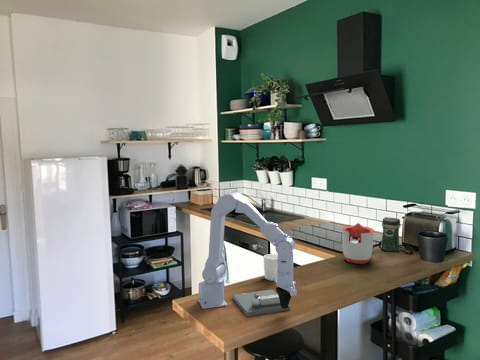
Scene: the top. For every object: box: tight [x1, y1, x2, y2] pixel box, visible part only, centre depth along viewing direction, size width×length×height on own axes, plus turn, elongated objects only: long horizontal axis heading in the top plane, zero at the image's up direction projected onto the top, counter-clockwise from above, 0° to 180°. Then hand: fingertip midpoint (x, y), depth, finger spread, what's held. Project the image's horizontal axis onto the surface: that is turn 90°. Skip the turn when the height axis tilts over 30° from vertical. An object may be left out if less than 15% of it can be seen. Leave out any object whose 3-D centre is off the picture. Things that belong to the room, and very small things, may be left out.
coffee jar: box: [380, 216, 401, 253], centre depth 222 cm, size 10×8×19 cm
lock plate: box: [232, 289, 291, 317], centre depth 149 cm, size 17×16×6 cm
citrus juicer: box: [341, 222, 375, 265], centre depth 201 cm, size 16×17×20 cm
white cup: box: [263, 253, 278, 281], centre depth 177 cm, size 8×8×10 cm
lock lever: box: [252, 293, 280, 308], centre depth 145 cm, size 12×4×3 cm, turn 109°
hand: (284, 307), depth 141 cm, fingers closed
